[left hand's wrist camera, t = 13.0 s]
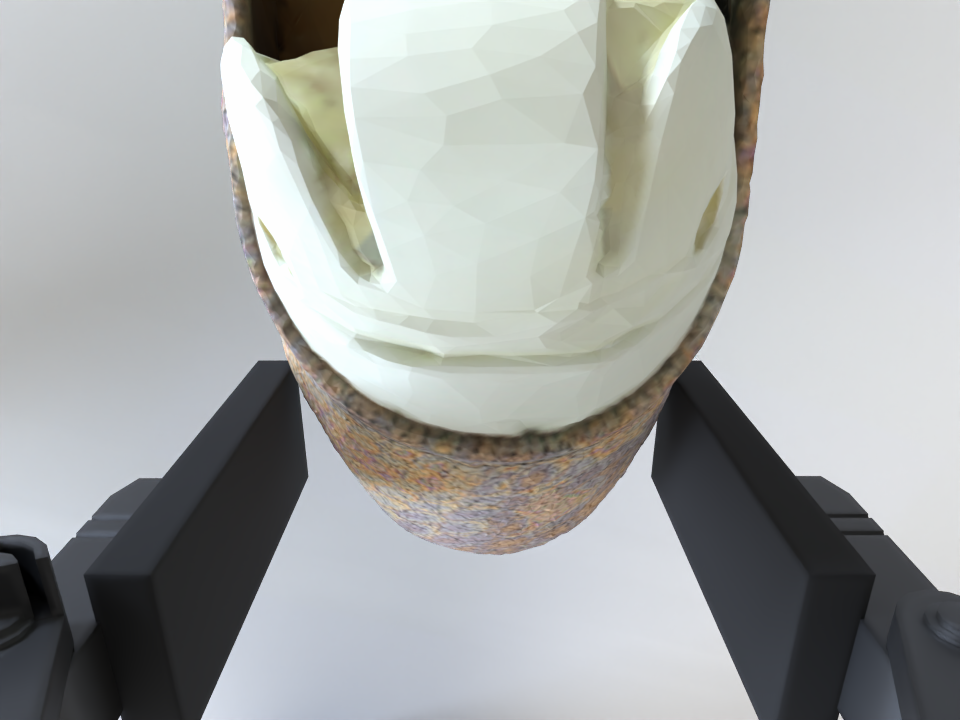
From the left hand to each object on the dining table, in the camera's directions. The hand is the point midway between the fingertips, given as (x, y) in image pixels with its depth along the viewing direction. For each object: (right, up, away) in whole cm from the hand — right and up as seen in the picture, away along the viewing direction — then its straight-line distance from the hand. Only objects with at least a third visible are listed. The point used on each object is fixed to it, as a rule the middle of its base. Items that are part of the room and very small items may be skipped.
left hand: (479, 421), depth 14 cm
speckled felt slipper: (0, +9, -3) cm, 9 cm away
